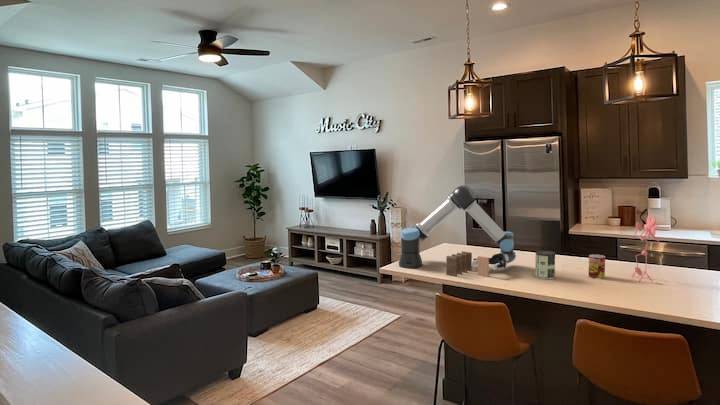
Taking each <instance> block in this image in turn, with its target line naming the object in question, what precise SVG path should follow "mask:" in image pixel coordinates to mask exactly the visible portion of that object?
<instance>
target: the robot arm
mask: <svg viewBox="0 0 720 405" xmlns="http://www.w3.org/2000/svg"><path fill="white" fill-rule="evenodd" d="M461 209H462V210H463V211H464V212H467V213H468V214H469V215H470V216H471V217H472V218H473V219H474V220H475V222H476V223H477V224H479V226H480V227H481V228H482V229H483V230H484V231H485V233H487V234H488V235H489V236H490V237H491V239H492V240H494V242H495V243H496V244H497V245H498V246H499V248H500V252H497V253H495V254H493V255H492V256H491V257H489V265H492V270H493V271H495V270H497V269H502V268H503V269H506V267H507V264H509V263H512V262H513V261H515V260H516V258H517V255H516V252H515V251H514V246H515V243H514V239H515V238H514V232H513V231H503V230H502V228H501V227H500V226H499V225H498V224H497V223H496V222H495V221H494V220H493V219H492V218H491V217H490V216H489V215H488V214H487V213H486V211H485V210H484V209H483V208H482V207H481V206H480V205H479V204H478V203H477V199H476V198H475V197H474V192H473V189H472V188H471V187H470V186H468V185H467V184H462V185H459V186H457V187H456V188H454V189H453V191H452V192H451V193H450V194H448V196H447V199H446V200H445V201H444V202H443V203H442V204H440V205H439V206H438V207H437V208H436V209H435V210H434V211H433V212H431V213H430V214H429V215H427V217H426V218H424V219H423V220H422V221H421V222H416V223H415V224H414V225H413V226H412V227H407V228H402V230H401V232H400V239H401V240H400V243H401V244H400V246H401V248H400V252H401V253H400V257H399V259H398V260H399V261H398V266H399V267H401V268H405V269H416V268H421V267H423V259H422V257H421V254H420V247H421V246H420V244H423V242H424V241H425V240H426V239H428V237H430V234H431V232H432V231H433V230H434V229H436V228H437V227H438V226H439V225H440V224H441V223H443V222H444V221H445V220H447V218H448V217H450V216H451V215H452V214H453V213H454V212H455V211H457V210H461ZM471 266H472V267H475V266H478V257H477V258H473V260H472V261H471Z"/></svg>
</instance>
